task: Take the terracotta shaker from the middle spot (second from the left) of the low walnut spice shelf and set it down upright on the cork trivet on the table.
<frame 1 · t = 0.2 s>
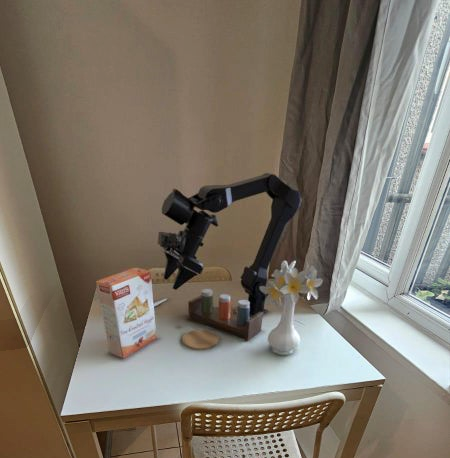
hand: (169, 283, 98), 15 cm above the table, tool tilted 30°, fingers open, 9 cm apart
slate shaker: (242, 323, 105), point 3 cm above the table, touching spice shelf
butter knife: (142, 312, 116), on the table
terracotta shaker: (224, 317, 108), point 3 cm above the table, touching spice shelf
cork trivet: (200, 340, 102), on the table
cracker box: (134, 346, 98), on the table
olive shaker: (207, 311, 111), point 3 cm above the table, touching spice shelf
spice shelf: (224, 325, 110), on the table
flower vase: (282, 351, 98), on the table
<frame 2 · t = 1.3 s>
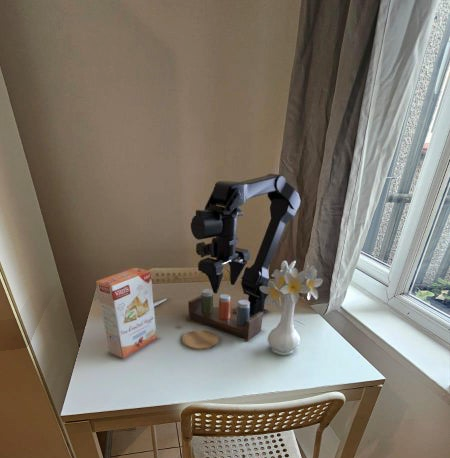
hand: (224, 288, 102), 12 cm above the table, tool pointing down, fingers open, 9 cm apart
nothing on the table moved.
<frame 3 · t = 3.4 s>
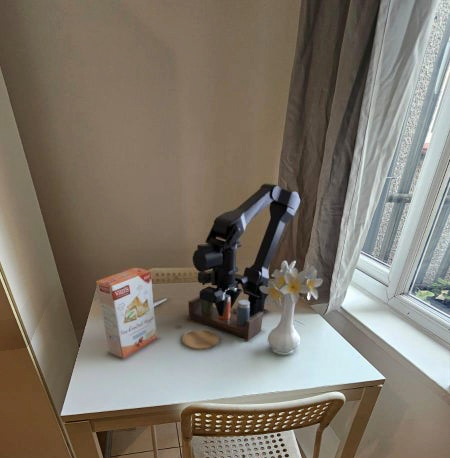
hand: (224, 313, 107), 4 cm above the table, tool pointing down, fingers closed on terracotta shaker, 4 cm apart
terracotta shaker: (224, 317, 108), point 3 cm above the table, touching gripper, spice shelf
everything else where it was.
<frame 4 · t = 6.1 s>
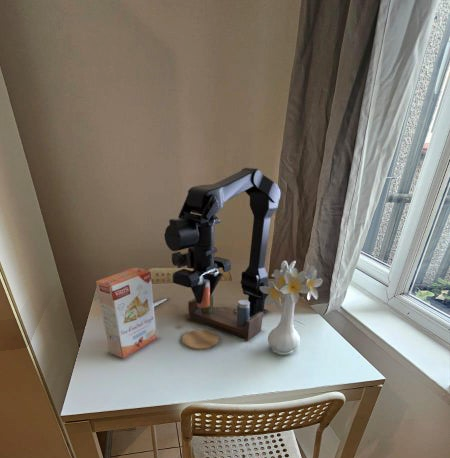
hand: (203, 301, 96), 12 cm above the table, tool pointing down, fingers closed on terracotta shaker, 4 cm apart
terracotta shaker: (203, 305, 96), point 11 cm above the table, touching gripper
everything else where it was.
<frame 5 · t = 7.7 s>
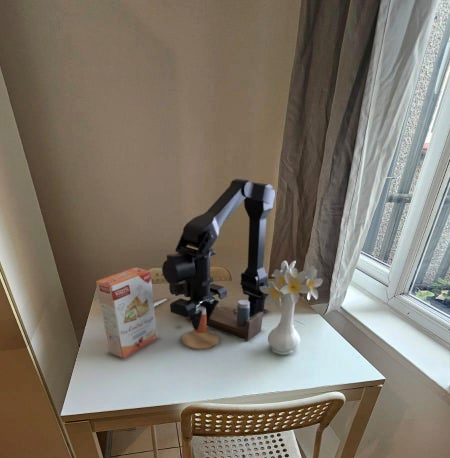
hand: (200, 326, 99), 5 cm above the table, tool pointing down, fingers closed on terracotta shaker, 4 cm apart
terracotta shaker: (200, 330, 100), point 3 cm above the table, touching gripper
everything else where it was.
when the fingers open (2 cm above the table, at t = 8.8 s): terracotta shaker stays where it is, resting on cork trivet.
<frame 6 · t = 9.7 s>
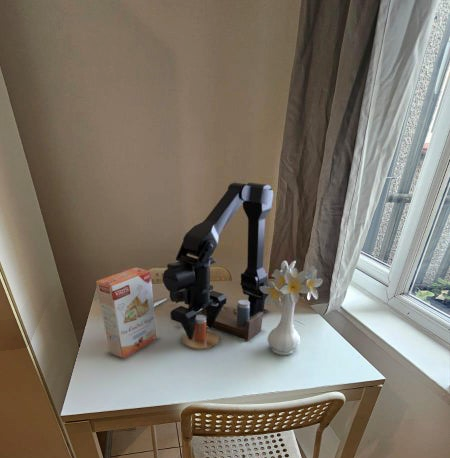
hand: (200, 333, 100), 2 cm above the table, tool pointing down, fingers open, 9 cm apart
terracotta shaker: (200, 338, 101), point 1 cm above the table, touching cork trivet
everything else where it was.
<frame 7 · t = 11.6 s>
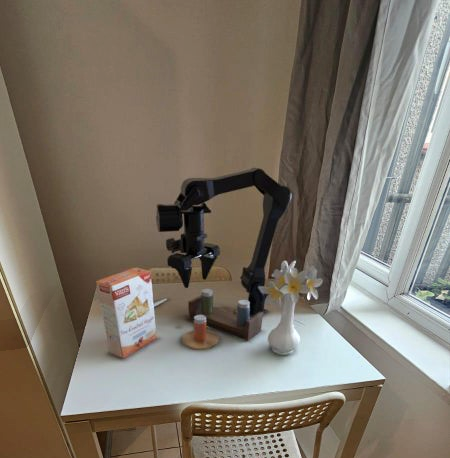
hand: (195, 283, 105), 12 cm above the table, tool pointing down, fingers open, 9 cm apart
nothing on the table moved.
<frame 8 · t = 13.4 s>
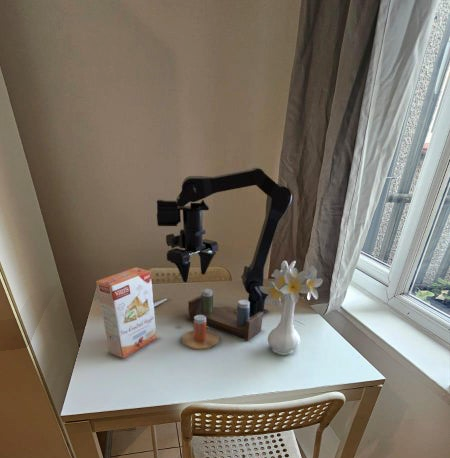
hand: (194, 278, 109), 12 cm above the table, tool pointing down, fingers open, 9 cm apart
nothing on the table moved.
at the end: terracotta shaker 0.0 cm off-centre on the cork trivet, point 0.6 cm above the cork trivet's base; terracotta shaker tilted 0°; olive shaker moved 0.0 cm from its start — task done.
